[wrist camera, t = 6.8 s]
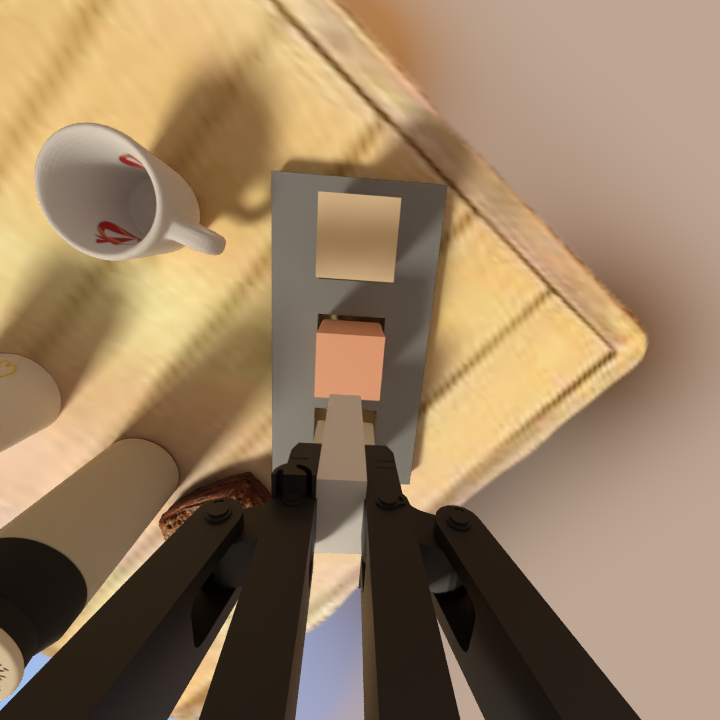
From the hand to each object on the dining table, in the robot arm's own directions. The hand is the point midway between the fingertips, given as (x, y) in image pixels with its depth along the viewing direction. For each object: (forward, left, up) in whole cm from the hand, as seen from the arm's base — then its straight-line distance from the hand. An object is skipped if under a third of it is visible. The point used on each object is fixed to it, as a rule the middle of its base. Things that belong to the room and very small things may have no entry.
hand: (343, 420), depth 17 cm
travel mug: (+15, -21, -17) cm, 31 cm away
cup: (-10, -15, -17) cm, 24 cm away
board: (0, 0, -17) cm, 17 cm away
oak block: (-9, 0, -13) cm, 16 cm away
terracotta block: (0, 0, -15) cm, 15 cm away
